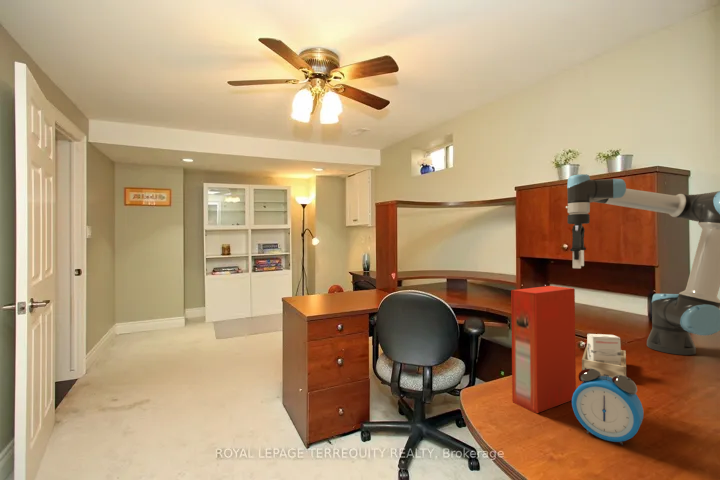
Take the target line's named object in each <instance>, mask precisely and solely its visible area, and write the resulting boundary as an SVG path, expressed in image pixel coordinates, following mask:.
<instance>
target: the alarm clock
mask: <svg viewBox="0 0 720 480" xmlns="http://www.w3.org/2000/svg"><path fill="white" fill-rule="evenodd" d="M607 376H608V377H607ZM578 380H579V382H581V383H580V385H578V386H577V387H576V390H575V392H574V394H573V397H572V400H571V407H572V410H573V413H574V416H575V417H576V419H577V420H578V422H579V423H580V424H581V425H582V427H583V428H584V429H586V434H589V433H590V434H592V435H594V436H595V437H596V438H599V439H602V440H603V441H608V442H614V443H619V444H620V445H621V446H623V447H624V444H623V442H626V441H628V440H630V439H633V438H634V436H635V435H636V434H637V433H638V431H639V429H640V427H641V425H642V423H643V420H644V408H643V404H642V401H641V400H640V398H639V396H638V395H637V393H638V386H637V384H636V382H634V380H633V379H632V378H630V377H628V376H627V375H626V376H623V375H615V376H614V377H613V378H611V377H609V375H606V374H604V376H601V374H600V372H599V371H598V370H596V369H593V368H587V369H586V368H585V369H584V370H582V369H581V371H580V372H579V374H578Z"/></svg>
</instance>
